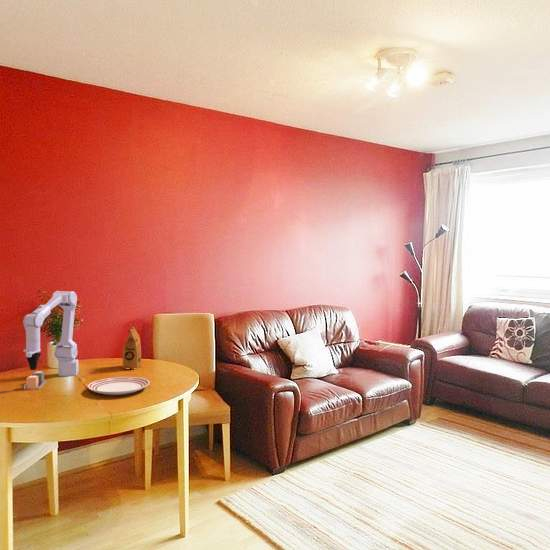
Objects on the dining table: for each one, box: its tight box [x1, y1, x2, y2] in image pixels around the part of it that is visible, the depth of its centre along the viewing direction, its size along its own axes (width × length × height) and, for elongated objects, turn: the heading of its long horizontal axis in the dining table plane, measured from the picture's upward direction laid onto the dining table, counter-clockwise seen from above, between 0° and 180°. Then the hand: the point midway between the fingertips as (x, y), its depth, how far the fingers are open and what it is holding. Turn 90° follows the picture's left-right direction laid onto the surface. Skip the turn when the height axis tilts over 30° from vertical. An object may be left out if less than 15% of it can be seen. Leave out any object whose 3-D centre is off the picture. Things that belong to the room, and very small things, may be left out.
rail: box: [23, 379, 47, 391], centre depth 220 cm, size 6×12×3 cm, turn 12°
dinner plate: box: [87, 376, 150, 396], centre depth 221 cm, size 28×27×3 cm
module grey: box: [31, 370, 45, 384], centre depth 224 cm, size 4×4×5 cm
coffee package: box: [122, 326, 142, 370], centre depth 262 cm, size 10×12×22 cm
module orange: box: [25, 375, 38, 390], centre depth 216 cm, size 4×4×5 cm
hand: (33, 369), depth 216 cm, fingers closed
